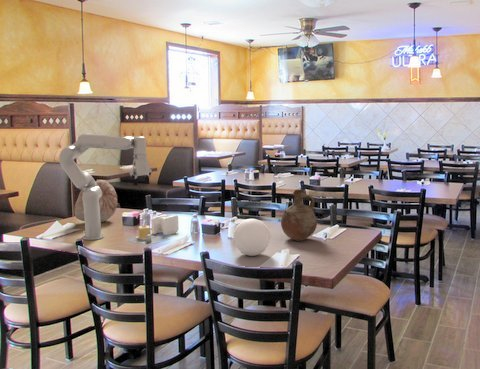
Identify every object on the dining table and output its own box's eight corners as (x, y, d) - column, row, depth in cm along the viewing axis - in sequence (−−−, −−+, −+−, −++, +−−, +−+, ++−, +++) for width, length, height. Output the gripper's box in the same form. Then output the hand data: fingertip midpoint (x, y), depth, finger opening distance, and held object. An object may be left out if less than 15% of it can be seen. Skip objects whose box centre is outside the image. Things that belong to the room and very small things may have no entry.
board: (123, 241, 310) (123, 233, 309) (145, 236, 324) (145, 227, 323) (148, 247, 297) (148, 238, 296) (170, 240, 311) (170, 232, 310)
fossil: (115, 217, 383) (113, 177, 379) (122, 224, 360) (120, 181, 356) (72, 221, 371) (69, 180, 367) (76, 228, 347) (73, 185, 343)
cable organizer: (163, 237, 320) (163, 219, 319) (151, 235, 326) (150, 217, 324) (179, 232, 333) (178, 214, 331) (166, 230, 338) (165, 213, 337)
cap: (138, 236, 318) (138, 225, 317) (149, 235, 320) (148, 224, 319) (140, 238, 312) (139, 227, 311) (150, 237, 314) (150, 227, 313)
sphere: (253, 248, 292) (252, 213, 289) (278, 255, 277) (278, 219, 274) (226, 255, 279) (225, 219, 276) (250, 262, 264) (250, 224, 261)
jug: (279, 235, 321) (279, 188, 317) (313, 234, 321) (314, 187, 317) (282, 244, 299) (282, 193, 295) (319, 243, 300) (319, 193, 295)
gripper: (133, 158, 306) (134, 186, 309) (154, 156, 320) (155, 183, 322) (125, 157, 311) (126, 185, 313) (146, 155, 325) (147, 182, 327)
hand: (141, 184), depth 318 cm, fingers open, 9 cm apart
